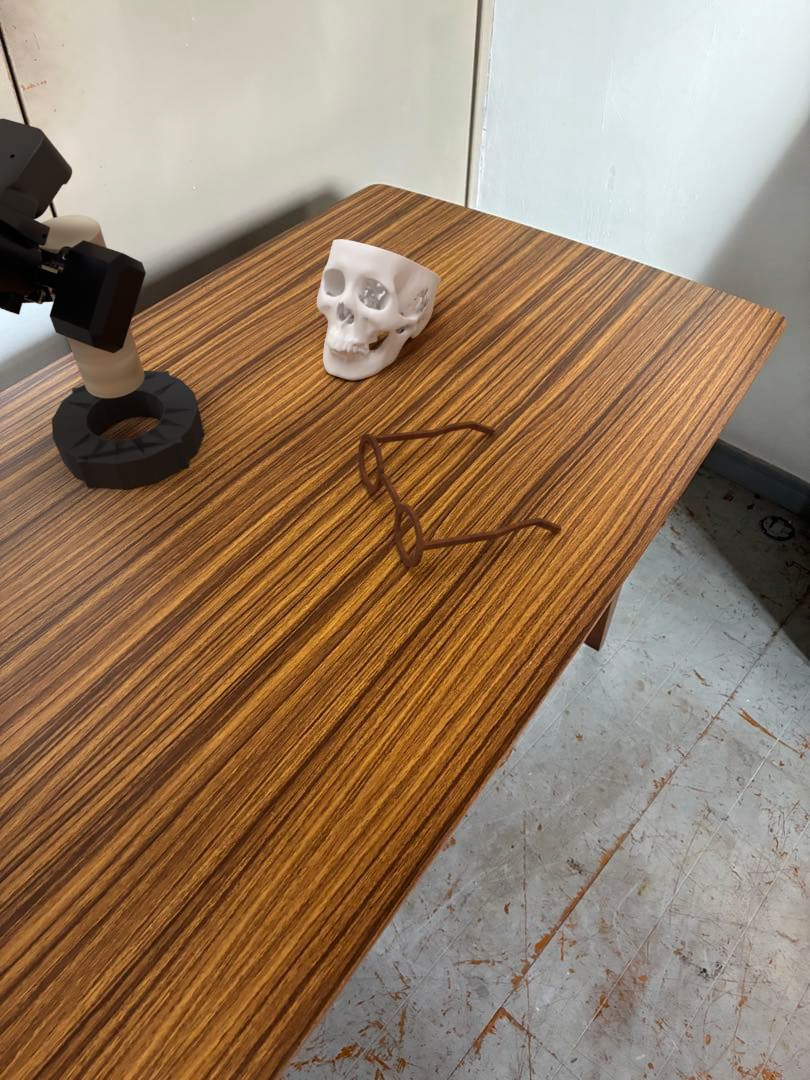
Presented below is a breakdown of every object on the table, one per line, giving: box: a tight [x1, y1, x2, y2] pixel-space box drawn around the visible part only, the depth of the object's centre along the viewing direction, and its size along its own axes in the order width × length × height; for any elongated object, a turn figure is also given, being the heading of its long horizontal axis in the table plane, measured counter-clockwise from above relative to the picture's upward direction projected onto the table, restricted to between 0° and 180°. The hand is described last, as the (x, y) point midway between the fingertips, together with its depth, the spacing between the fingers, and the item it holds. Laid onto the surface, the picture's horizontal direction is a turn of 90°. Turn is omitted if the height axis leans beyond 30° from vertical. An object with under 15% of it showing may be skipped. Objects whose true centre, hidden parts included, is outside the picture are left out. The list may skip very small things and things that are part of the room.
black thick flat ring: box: [51, 370, 205, 490], centre depth 71 cm, size 12×12×3 cm
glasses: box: [357, 420, 563, 569], centre depth 66 cm, size 13×13×5 cm
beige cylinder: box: [39, 214, 145, 398], centre depth 62 cm, size 5×5×13 cm
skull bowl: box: [316, 238, 442, 381], centre depth 80 cm, size 10×14×12 cm
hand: (103, 302), depth 63 cm, fingers closed on beige cylinder, 5 cm apart
